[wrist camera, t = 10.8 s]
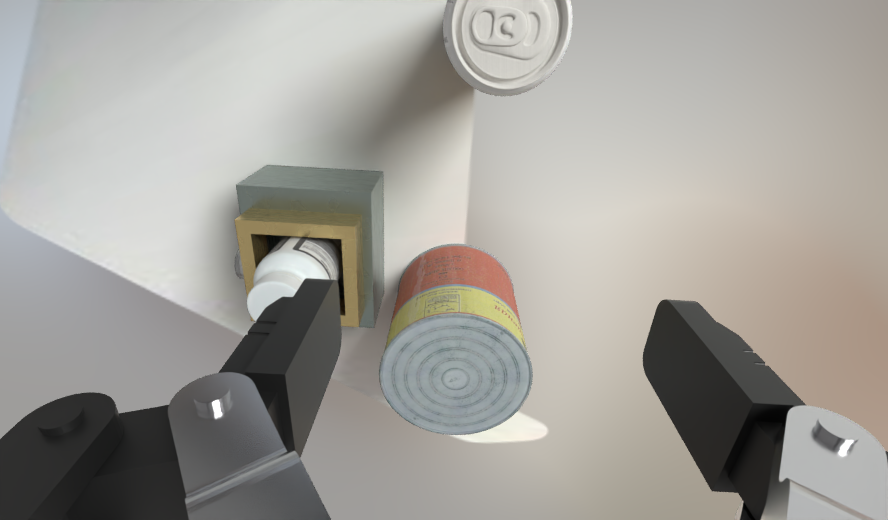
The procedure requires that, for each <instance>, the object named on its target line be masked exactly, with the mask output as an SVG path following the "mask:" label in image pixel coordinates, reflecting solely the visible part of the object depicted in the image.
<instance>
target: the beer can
mask: <svg viewBox="0 0 888 520" xmlns="http://www.w3.org/2000/svg"><path fill="white" fill-rule="evenodd" d="M572 20H573V15H572V6H571V0H448V1H447V4H446V8H445V12H444V19H443V37H444V43H445V48H446V51H447V54H448V57H449V59H450V61H451V63H452V65H453V67H454V69H455V70H456V71H457V73H458V74H459V75H460V76H461V77H462V79H463V80H464V81H466V82H467V83H468V84H469V85H471V86H472V87H474V88H475V89H477V90H479V91H481V92H484V93H487V94H490V95H495V96H512V95H518V94H521V93H524V92H527V91H529V90H531V89H533V88H535V87H537V86H538V85H539V84H541V83H542V82H544V81H545V80H546V79H547V78H548V77H549V76H550V75H551V74H552V73H553V72H554V71H555V69H556V68H557V66H558V65H559V64H560V62H561V60H562V58H563V57H564V54H565V52H566V50H567V47H568V44H569V41H570V37H571V32H572V23H573V21H572Z"/></svg>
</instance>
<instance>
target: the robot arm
mask: <svg viewBox="0 0 888 520" xmlns="http://www.w3.org/2000/svg"><path fill="white" fill-rule="evenodd" d="M340 347H341V316H340V299H339V286H338V282H337V280H330V279H312V278H306V279H305V280H304V281H303V282H302V284H301V285H300V287H299V289H298V290H297V292H296V293H295V295H294V296H293V297H281V298H279V299H278V300H276V301H275V302H273V303H272V304H270V305H269V306H267V307H266V308H265V309H264V310H263V312H262V313H261V315H260V316H259V317H258V319H257V320H256V323H254V324H253V326H252V327H251V328H250V330H249V331H248V335H245V337H244V338H243V339H242V341H241V342H240V344H239V345H238V347H237V348H236V349H235V351H234V352H233V353H232V355H231V356H230V358H229V359H228V360H227V362H226V363H225V365H224V366H223V367H222V369H221V370H220V371H219V373H216V374H212V375H208V376H205V377H202V378H199V379H197V380H195V381H193V382H191V383H189V384H188V385H186V386H185V387H183V388H182V389H181V390H180V391H179V392H177V393H176V395H175V396H174V397H173V398H172V400H171V402H170V404H169V405H165V406H160V407H155V408H149V409H143V410H137V411H131V412H125V413H120V414H119V413H118V410H117V408H116V405H115V402H114V401H113V399H112V398H111V397H109V396H107V395H105V394H101V393H81V394H74V395H70V396H67V397H63V398H60V399H57V400H55V401H52V402H50V403H48V404H45V405H43V406H42V407H40V408H38V409H36V410H34V411H33V412H31V413H30V414H28V415H27V416H25V417H24V418H23V419H22V420H21V421H20V422H18V423H17V424H16V425H15V426H14V427H13V428H12V429H11V430H10V431H9V432H8V433H6V434H5V435H4V436H3V437H2V438H1V439H0V520H331V518H330V516H329V515H328V513H327V511H326V509H325V507H324V505H323V503H322V501H321V499H320V497H319V495H318V493H317V491H316V489H315V487H314V485H313V483H312V481H311V479H310V477H309V475H308V473H307V471H306V469H305V467H304V465H303V463H302V461H301V459H300V457H301V454H302V452H303V449H304V446H305V444H306V441H307V438H308V436H309V433H310V431H311V428H312V425H313V423H314V420H315V417H316V414H317V412H318V409H319V407H320V404H321V401H322V399H323V396H324V393H325V391H326V388H327V385H328V383H329V380H330V377H331V375H332V372H333V370H334V367H335V364H336V362H337V359H338V356H339V352H340ZM643 367H644V371H645V374H646V376H647V378H648V380H649V382H650V383H651V385H652V387H653V389H654V390H655V392H656V394H657V396H658V397H659V399H660V401H661V403H662V405H663V406H664V408H665V410H666V411H667V413H668V415H669V417H670V418H671V420H672V422H673V424H674V425H675V427H676V429H677V431H678V433H679V434H680V436H681V438H682V440H683V441H684V443H685V445H686V446H687V448H688V450H689V452H690V454H691V455H692V457H693V459H694V461H695V462H696V464H697V466H698V468H699V469H700V471H701V473H702V474H703V476H704V478H705V480H706V482H707V483H708V485H709V487H710V489H711V490H712V491H717V492H718V491H719V492H734V493H739V495H740V496H741V498H742V501H741V503H740V505H739V507H738V509H737V512H736V516H735V520H888V452H887V451H885V450H884V448H883V447H882V445H881V444H880V443H879V441H878V440H877V439H876V438H875V437H874V436H873V435H871V434H870V433H869V432H868V431H867V430H865V429H864V428H863V427H861V426H860V425H858V424H856V423H855V422H853V421H851V420H850V419H848V418H846V417H844V416H842V415H839V414H837V413H835V412H832V411H829V410H826V409H822V408H819V407H814V406H807V405H805V403H803V401H801V399H800V398H799V397H798V396H797V395H796V394H795V393H794V392H793V391H792V390H791V389H790V388H789V387H788V386H787V385H786V384H785V383H784V382H783V381H782V380H781V379H780V378H779V377H778V375H777V374H775V372H774V371H773V370H772V369H771V368H770V367H769V366H765V362H764V361H763V360H762V359H761V358H760V357H759V356H758V355H757V354H756V353H753V350H752V349H751V348H750V346H748V344H746V342H744V340H743V339H742V338H741V337H740V336H739V335H737V334H736V333H734V332H733V331H731V330H729V329H728V328H726V327H725V326H723V325H721V324H720V323H718V322H716V321H715V320H714V319H713V318H712V317H711V316H710V315H709V314H708V312H706V310H705V309H704V308H703V307H702V306H701V305H700V304H699V303H698V302H695V301H680V300H662V301H661V302H660V303H659V305H658V307H657V309H656V312H655V316H654V319H653V322H652V325H651V329H650V332H649V335H648V338H647V342H646V345H645V348H644V352H643Z"/></svg>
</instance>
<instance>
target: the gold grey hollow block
mask: <svg viewBox="0 0 888 520" xmlns="http://www.w3.org/2000/svg"><path fill="white" fill-rule="evenodd" d="M236 189H237V195H238V202H239V208H240V214H241V215H240V216H239V217H237V218H236V219H235V226H236V232H237V238H238V244H239V250H238V251H237V254H236V257H235V271H236V274H237V276H238V277H239V278H242V279H244V281H245V287H246V293H247V297H248V294H249V292H250V291H251V289H252V288H253V287H254V274H255V271H256V268H257V267H258V265H259V264H260V262H261V261H262V260H263V258H264V257H266V255H267V254H268V253H269V252H270V251H271V250H272V249H273V248H274V247H275V246H276V245H277V244H278V243H279V241H280V240H281V239H282V238H283V237H284V236H298V237H315V238H333V239H341V240H342V258H343V273H342V275H341V277H340V278H339V280H338V286H339V299H340V316H341V326H348V327H367V328H374V326H375V323H376V319H377V316H378V312H379V309H380V305H381V302H382V298H383V295H384V209H383V172H380V171H363V170H345V169H328V168H311V167H293V166H276V165H266V166H265V167H263V168H261V169H260V170H258V171H257V172H255V173H254V174H252V175H251V176H249V177H247V178H246V179H244V180H243V181H241V182H240V183H238V184H237V185H236ZM250 317H251V315H250ZM251 321H254V320H253V318H252V317H251Z"/></svg>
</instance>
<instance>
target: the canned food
mask: <svg viewBox="0 0 888 520" xmlns="http://www.w3.org/2000/svg"><path fill="white" fill-rule="evenodd" d="M532 377H533V375H532V366H531V361H530V358H529V355H528V353H527V350H526V345H525V341H524V337H523V332H522V328H521V323H520V319H519V315H518V310H517V306H516V301H515V297H514V290H513V284H512V280H511V278H510V275H509V273H508V272H507V270H506V268H505V267H504V266H503V264H502V263H501V262H500V261H499V260H497V258H495V257H494V256H493V255H491V254H490V253H488V252H486V251H484V250H482V249H480V248H477V247H474V246H470V245H465V244H447V245H441V246H437V247H434V248H432V249H429V250H427V251H425V252H423V253H422V254H420V255H419V256H417V257H416V258H415V259H414V260H413V261H412V262H411V263H410V264H409V265H408V266H407V268H406V269H405V271H404V273H403V275H402V277H401V279H400V283H399V288H398V296H397V300H396V304H395V309H394V313H393V317H392V321H391V326H390V330H389V334H388V339H387V343H386V347H385V351H384V354H383V356H382V359H381V363H380V369H379V379H380V385H381V389H382V392H383V394H384V396H385V398H386V400H387V401H388V403H389V404H390V406H391V407H392V408H393V409H394V410H395V411H396V412H397V413H398V414H399V415H400V416H401V417H403V418H404V419H405V420H407V421H408V422H410V423H412V424H413V425H416V426H418V427H420V428H422V429H425V430H428V431H431V432H435V433H440V434H448V435H466V434H473V433H478V432H482V431H485V430H488V429H491V428H493V427H495V426H498V425H500V424H501V423H503V422H505V421H506V420H508V419H509V418H510V417H512V416H513V415H514V414H515V413H516V412H517V411H518V410H519V409H520V407H521V406H522V405H523V404H524V402H525V400H526V399H527V397H528V395H529V392H530V389H531V385H532Z"/></svg>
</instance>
